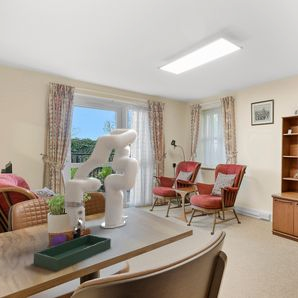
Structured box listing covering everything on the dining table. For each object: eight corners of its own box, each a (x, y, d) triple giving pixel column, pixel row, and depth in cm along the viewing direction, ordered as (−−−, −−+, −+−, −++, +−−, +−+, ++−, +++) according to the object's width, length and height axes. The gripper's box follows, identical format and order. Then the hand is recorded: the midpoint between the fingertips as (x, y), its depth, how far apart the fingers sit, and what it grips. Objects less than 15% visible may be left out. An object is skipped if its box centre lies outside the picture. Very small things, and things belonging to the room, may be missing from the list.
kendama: (94, 227, 125) (60, 238, 105) (91, 238, 124) (56, 251, 105) (85, 224, 126) (49, 234, 106) (81, 235, 125) (45, 247, 105)
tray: (89, 243, 113) (89, 234, 113) (110, 248, 109) (110, 238, 109) (33, 264, 92) (33, 252, 92) (56, 271, 87) (57, 259, 87)
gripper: (93, 204, 116) (91, 239, 116) (70, 200, 122) (68, 234, 121) (78, 207, 109) (76, 245, 109) (54, 203, 115) (52, 239, 114)
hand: (72, 239), depth 115 cm, fingers closed on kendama, 5 cm apart
